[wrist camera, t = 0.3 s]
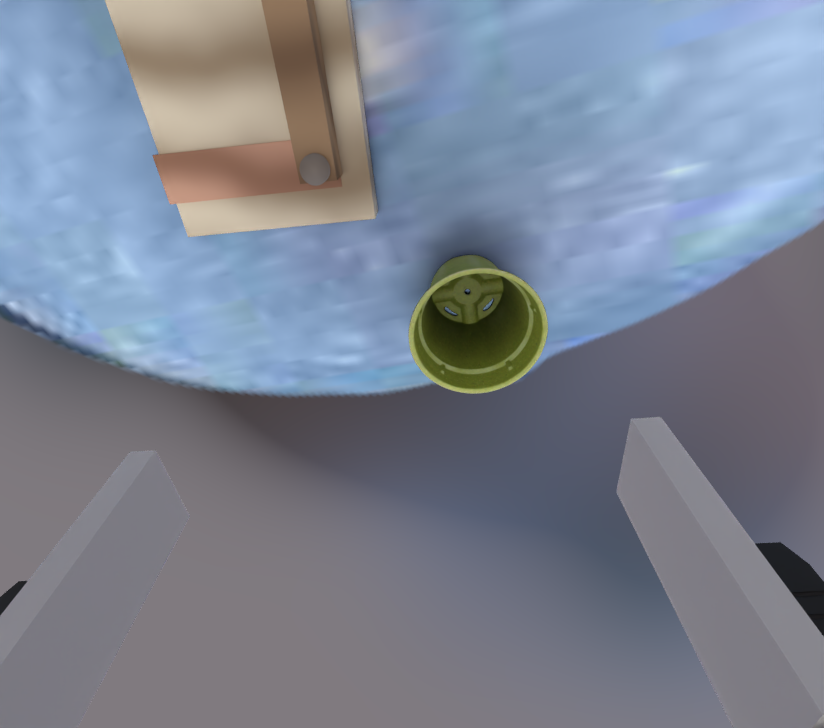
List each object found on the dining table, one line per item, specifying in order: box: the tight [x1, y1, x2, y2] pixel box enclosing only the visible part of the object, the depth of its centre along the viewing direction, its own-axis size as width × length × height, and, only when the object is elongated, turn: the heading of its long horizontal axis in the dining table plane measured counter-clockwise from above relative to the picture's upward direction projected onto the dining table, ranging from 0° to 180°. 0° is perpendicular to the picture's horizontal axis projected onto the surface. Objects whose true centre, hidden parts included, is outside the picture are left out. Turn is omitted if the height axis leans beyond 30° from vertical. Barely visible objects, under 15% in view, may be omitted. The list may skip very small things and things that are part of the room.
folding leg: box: [261, 0, 342, 186], centre depth 26 cm, size 12×2×3 cm, turn 6°
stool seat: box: [105, 0, 378, 237], centre depth 28 cm, size 22×14×3 cm, turn 6°
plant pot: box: [409, 255, 548, 393], centre depth 34 cm, size 9×9×9 cm
